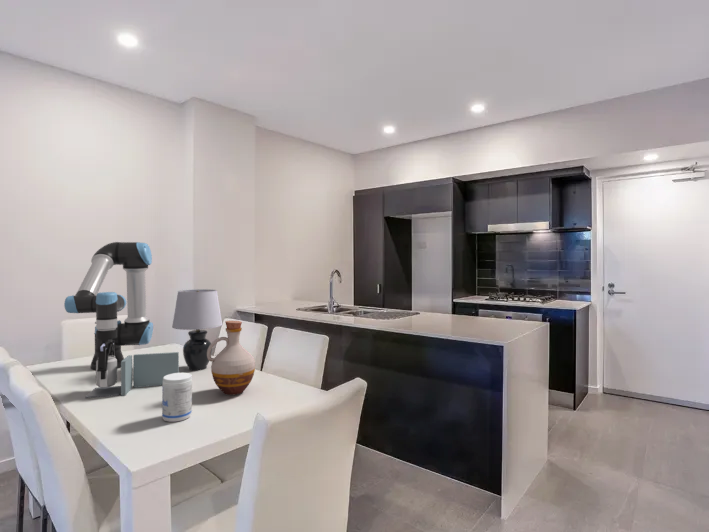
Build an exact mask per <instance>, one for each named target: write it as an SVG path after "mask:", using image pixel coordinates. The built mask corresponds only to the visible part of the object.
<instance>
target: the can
mask: <svg viewBox="0 0 709 532" xmlns="http://www.w3.org/2000/svg"><path fill="white" fill-rule="evenodd" d="M102 368H103V367H102ZM97 370H98V360H97V361H96V370H95V384H96V386H97V388H98V387H100V371H99V372H97ZM107 370H108V386H107V387H112V386H116V383H118V368H117V359H116V358H115V356H108V364H107Z"/></svg>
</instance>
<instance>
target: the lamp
mask: <svg viewBox="0 0 709 532" xmlns="http://www.w3.org/2000/svg"><path fill="white" fill-rule="evenodd" d="M221 313H222V312H221V307H220V302H219V294H218V290H217V289H208V288H206V289H198V288H197V289H195V288H194V289H182V290H177V296H176V302H175V308H174V315H173V318H172V319H173V321H172V329H174V330H180V331H181V330H182V331H184V330H186V331H188V332H187V333H188V334H187V335H188V336H189V339H188V340H186V342H185V343H184V344H183V346H182V356H183V358H184V361H185V364H186V366H187V368H188V370H190V371H194V372H195V371H203V370H205V369H208V365H209V364H210V363H209V362H210V361H209V360H208V358H207V350H208V348H209V346H210V344H211V343H212V342H211V341H210V340H209V339H208V338H206V337H207V334H208V331H207V330H208V329H209V330H210V329H215V328H220V327H222V326H223V322H222V321H223V320H222V314H221ZM212 354H213V348H212V349H211V354H210V355H211V356H212Z"/></svg>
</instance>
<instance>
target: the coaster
mask: <svg viewBox="0 0 709 532" xmlns="http://www.w3.org/2000/svg"><path fill="white" fill-rule="evenodd" d="M119 396H121V385H113V386H110V387H98V386H97V387H94V388H93V389H92V390H91V391H90V392H89V393H88V394H86V396H85V398H84V399H93V398H104V397H105V398H106V397H119Z"/></svg>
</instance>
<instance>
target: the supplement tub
mask: <svg viewBox="0 0 709 532" xmlns="http://www.w3.org/2000/svg"><path fill="white" fill-rule="evenodd" d="M192 376H193V375H192V373H189V372H179V373H173V374H168V375H166V376H164V377H163V385H161V386H162V387H161V388H162V396H161V397H162V398H161V399H162V401H161V402H162V404H161V405H162V409H161V412H162V413H161V416H162V420H163V421H165V422H170V423H175V422H181V421H184V420H187V419H188V418H190V417H191V415H192V413H193V412H192V411H193V410H192V406H193V404H192V403H193V377H192Z"/></svg>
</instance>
